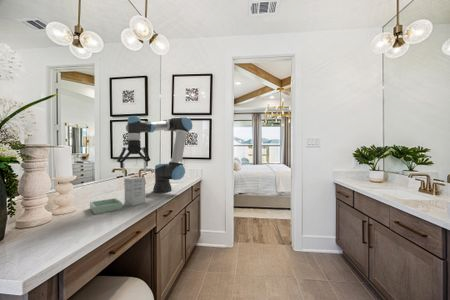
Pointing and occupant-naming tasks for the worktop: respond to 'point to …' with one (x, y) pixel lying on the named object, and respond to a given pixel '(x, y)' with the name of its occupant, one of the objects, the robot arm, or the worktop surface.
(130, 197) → the supplement box
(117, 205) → the tray
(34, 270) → the worktop surface
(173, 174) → the robot arm
